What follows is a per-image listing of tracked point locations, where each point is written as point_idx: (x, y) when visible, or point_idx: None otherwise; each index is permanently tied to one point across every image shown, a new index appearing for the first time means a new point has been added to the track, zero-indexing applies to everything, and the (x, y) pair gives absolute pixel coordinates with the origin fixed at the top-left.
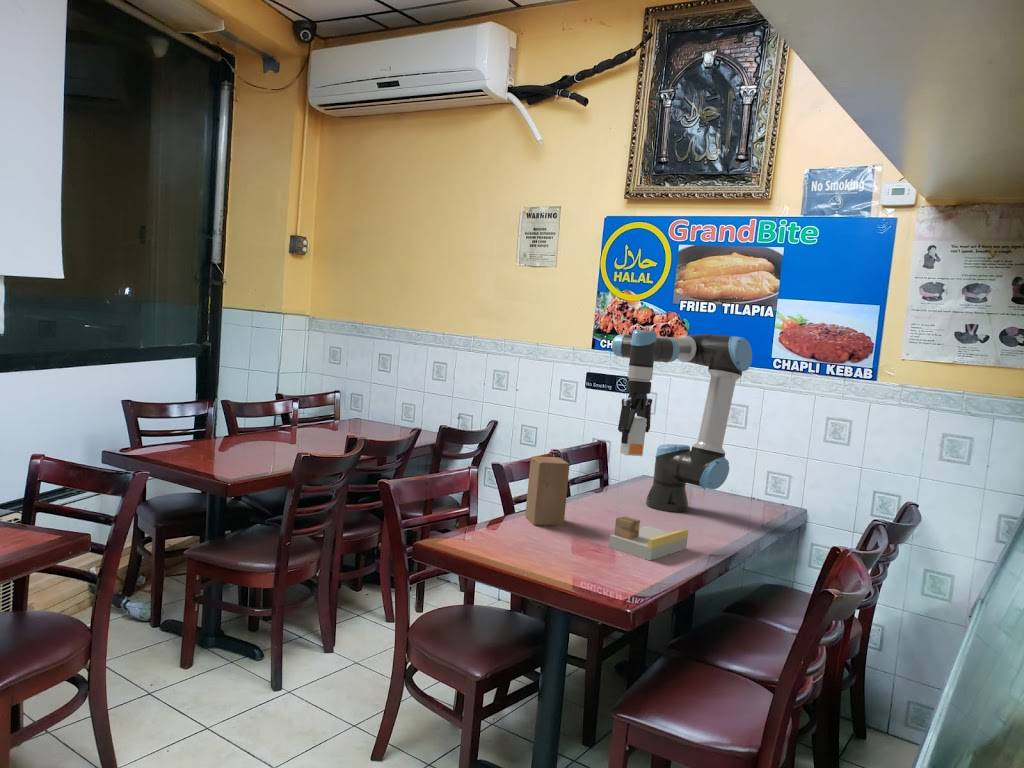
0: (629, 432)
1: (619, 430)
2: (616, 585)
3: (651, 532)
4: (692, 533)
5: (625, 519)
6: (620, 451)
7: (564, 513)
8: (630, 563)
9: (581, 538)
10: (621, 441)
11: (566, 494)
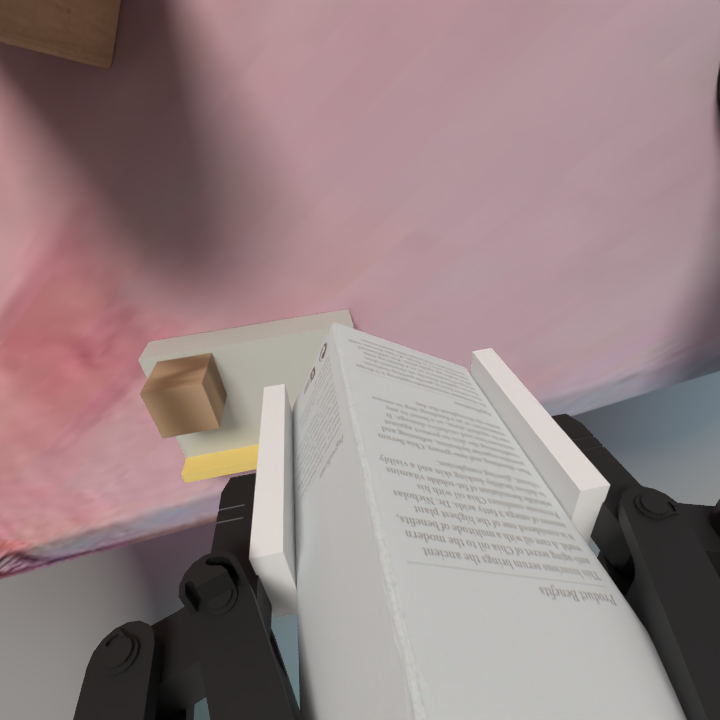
0: (272, 632)
1: (125, 637)
2: (4, 518)
3: (304, 376)
4: (508, 331)
5: (168, 412)
6: (330, 331)
7: (85, 62)
8: (129, 443)
9: (102, 243)
10: (223, 492)
11: (32, 48)
